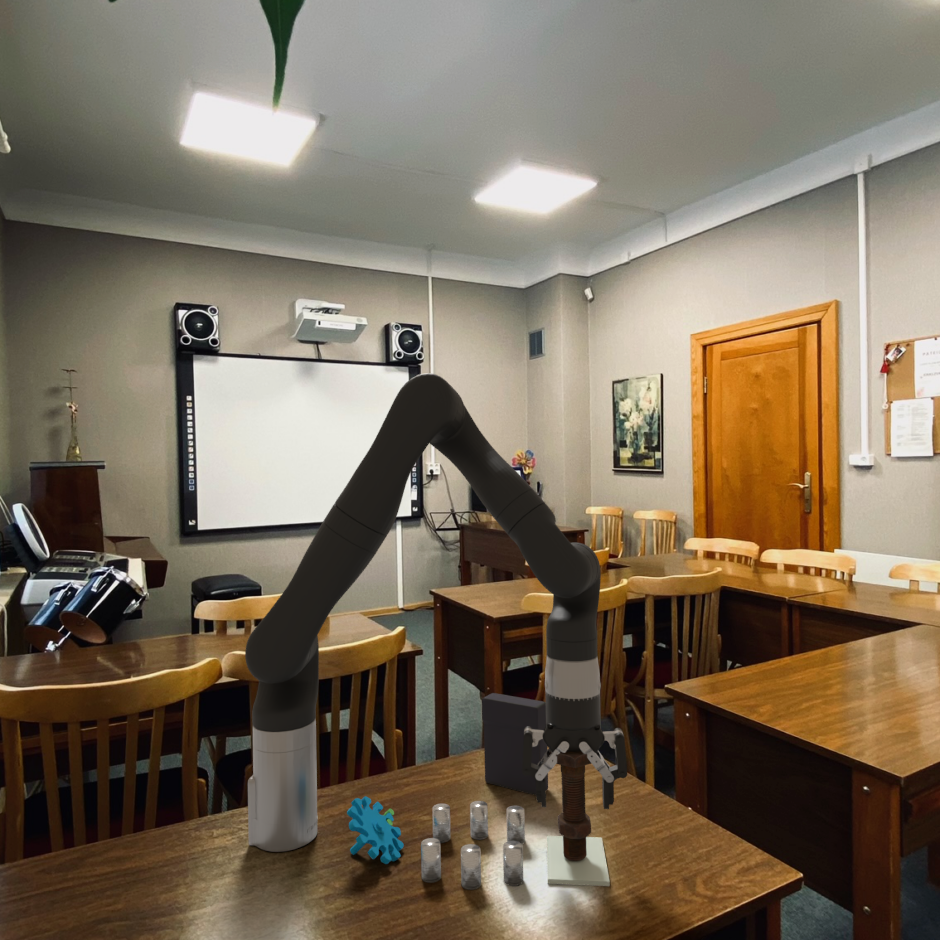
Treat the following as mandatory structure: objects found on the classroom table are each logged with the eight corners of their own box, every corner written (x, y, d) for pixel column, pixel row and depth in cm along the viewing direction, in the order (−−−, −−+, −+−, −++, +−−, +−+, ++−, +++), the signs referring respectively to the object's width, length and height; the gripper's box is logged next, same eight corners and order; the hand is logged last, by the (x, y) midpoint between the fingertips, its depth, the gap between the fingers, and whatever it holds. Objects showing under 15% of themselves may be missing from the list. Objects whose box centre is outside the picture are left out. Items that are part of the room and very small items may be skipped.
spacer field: (418, 887, 89) (417, 852, 90) (435, 829, 104) (435, 799, 104) (522, 891, 88) (522, 856, 88) (525, 832, 103) (524, 802, 103)
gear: (387, 869, 91) (342, 805, 94) (357, 897, 92) (314, 833, 95) (419, 839, 101) (377, 783, 105) (391, 865, 102) (351, 808, 105)
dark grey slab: (550, 788, 118) (548, 700, 118) (539, 798, 114) (537, 707, 114) (495, 774, 123) (493, 691, 124) (482, 784, 120) (481, 697, 120)
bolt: (596, 868, 92) (593, 756, 92) (558, 869, 92) (556, 756, 92) (590, 845, 98) (587, 740, 98) (554, 846, 98) (552, 740, 98)
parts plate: (547, 883, 90) (547, 879, 90) (546, 839, 101) (546, 835, 101) (609, 886, 89) (609, 881, 89) (601, 841, 100) (601, 837, 100)
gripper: (621, 681, 98) (623, 795, 98) (521, 679, 100) (523, 791, 99) (628, 697, 91) (630, 821, 91) (520, 695, 92) (522, 817, 92)
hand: (574, 805), depth 95 cm, fingers open, 8 cm apart
